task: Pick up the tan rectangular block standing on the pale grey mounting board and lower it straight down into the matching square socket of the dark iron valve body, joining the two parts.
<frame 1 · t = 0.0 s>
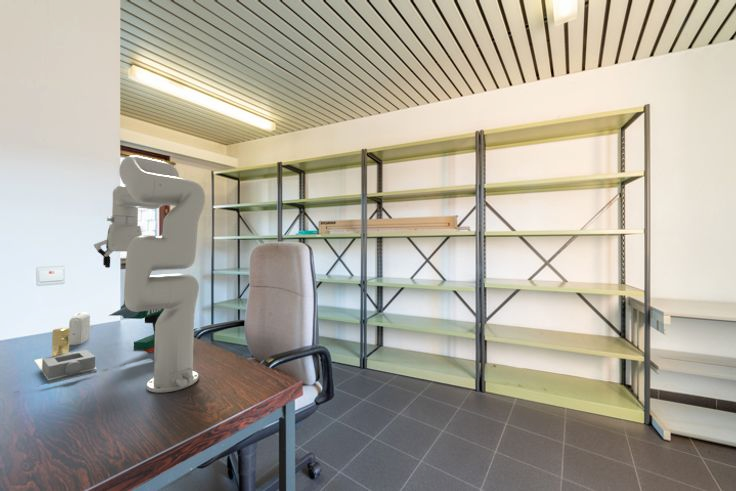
hand: (123, 266, 113), 31 cm above the table, tool pointing down, fingers open, 9 cm apart
power tool: (145, 351, 113), on the table
tan rectangular block: (60, 359, 99), point 1 cm above the table, touching valve board
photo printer: (79, 344, 118), on the table
valve board: (64, 367, 96), on the table
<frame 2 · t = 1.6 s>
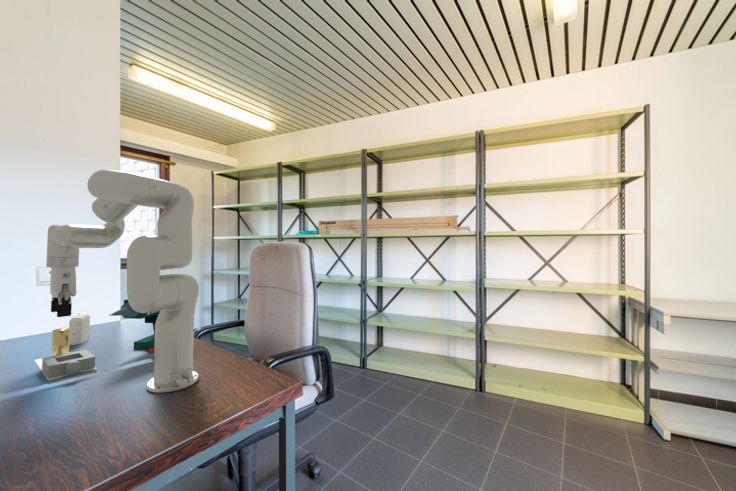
hand: (60, 313, 99), 16 cm above the table, tool pointing down, fingers open, 9 cm apart
nothing on the table moved.
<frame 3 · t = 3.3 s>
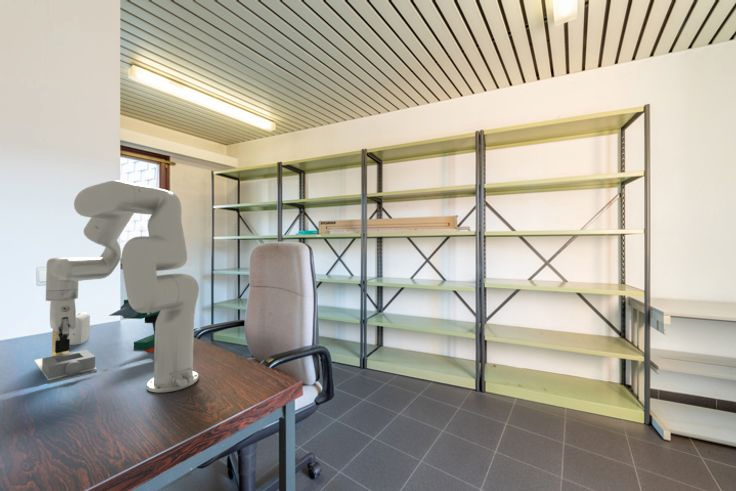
hand: (60, 349, 99), 5 cm above the table, tool pointing down, fingers closed on tan rectangular block, 4 cm apart
tan rectangular block: (60, 359, 99), point 1 cm above the table, touching gripper, valve board
everything else where it was.
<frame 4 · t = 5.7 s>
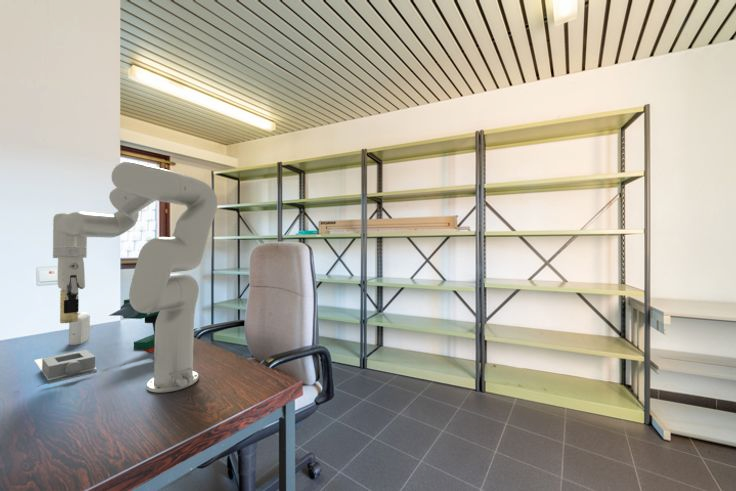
hand: (69, 311, 94), 19 cm above the table, tool pointing down, fingers closed on tan rectangular block, 4 cm apart
tan rectangular block: (69, 321, 94), point 15 cm above the table, touching gripper
everything else where it was.
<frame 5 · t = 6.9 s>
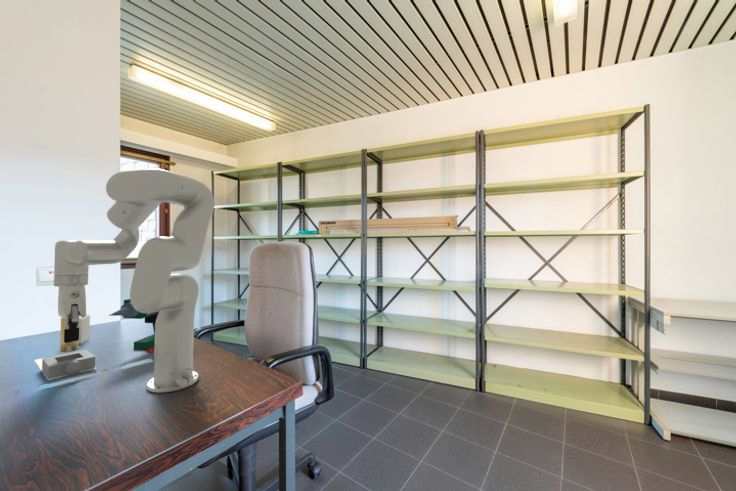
hand: (69, 339, 92), 10 cm above the table, tool pointing down, fingers closed on tan rectangular block, 4 cm apart
tan rectangular block: (69, 350, 92), point 7 cm above the table, touching gripper
everything else where it was.
when the fingers open (6 cm above the table, at t = 8.1 s): tan rectangular block drops 1 cm, resting on valve board.
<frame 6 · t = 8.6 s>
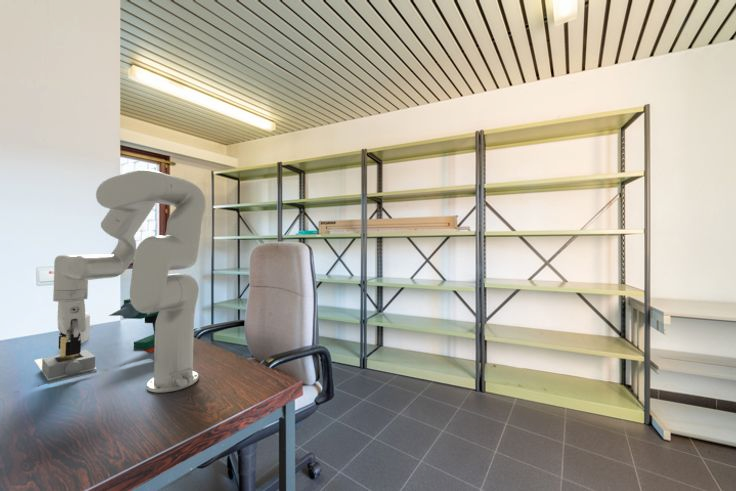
hand: (69, 350, 92), 7 cm above the table, tool pointing down, fingers open, 9 cm apart
tan rectangular block: (68, 368, 92), point 1 cm above the table, touching valve board
everything else where it was.
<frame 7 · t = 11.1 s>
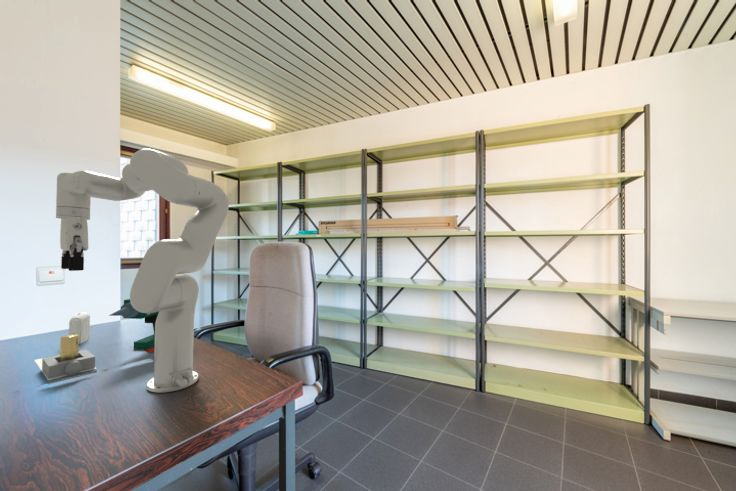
hand: (72, 269, 92), 32 cm above the table, tool pointing down, fingers open, 9 cm apart
nothing on the table moved.
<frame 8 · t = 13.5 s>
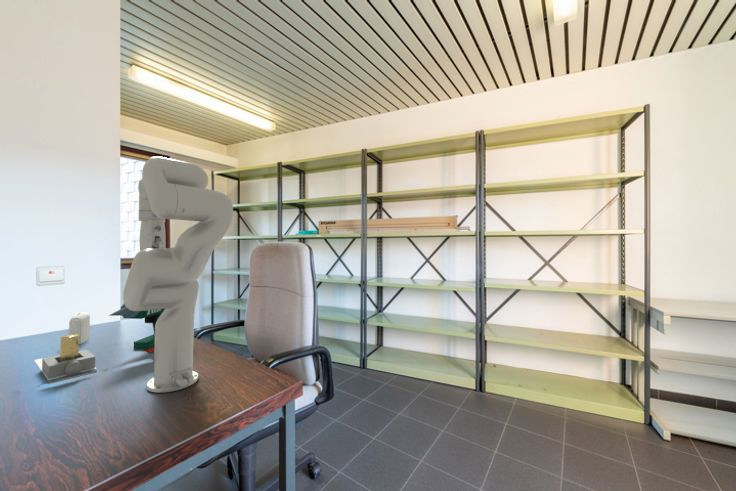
hand: (150, 266, 103), 32 cm above the table, tool pointing down, fingers open, 9 cm apart
nothing on the table moved.
at the end: tan rectangular block 0.2 cm from the target spot on the valve board, point 1.2 cm above the valve board's base; tan rectangular block tilted 0°; the gripper is holding nothing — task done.
